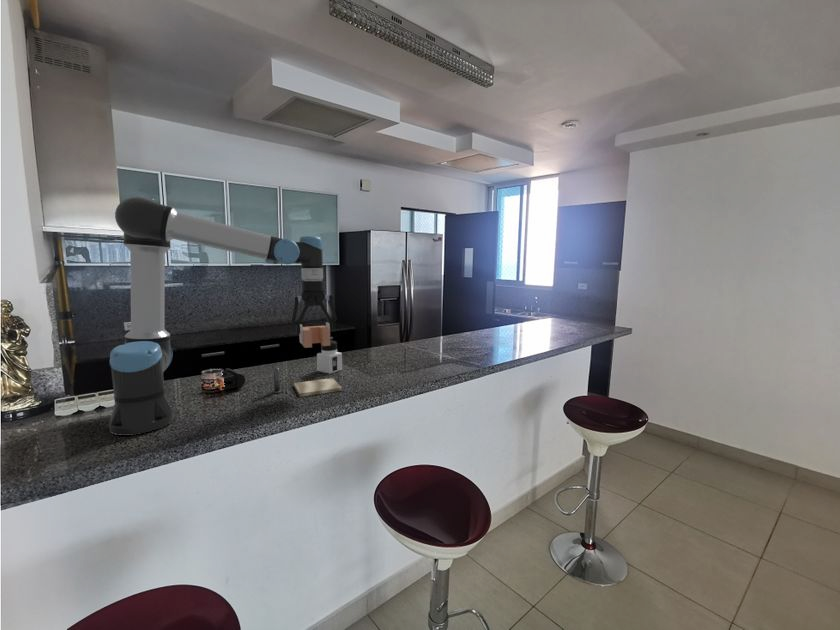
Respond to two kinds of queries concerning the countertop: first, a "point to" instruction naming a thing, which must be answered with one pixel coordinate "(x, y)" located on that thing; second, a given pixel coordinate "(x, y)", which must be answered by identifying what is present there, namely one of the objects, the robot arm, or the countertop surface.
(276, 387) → the stand
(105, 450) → the countertop surface
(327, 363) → the container
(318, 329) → the c link
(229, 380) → the end cap
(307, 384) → the board
